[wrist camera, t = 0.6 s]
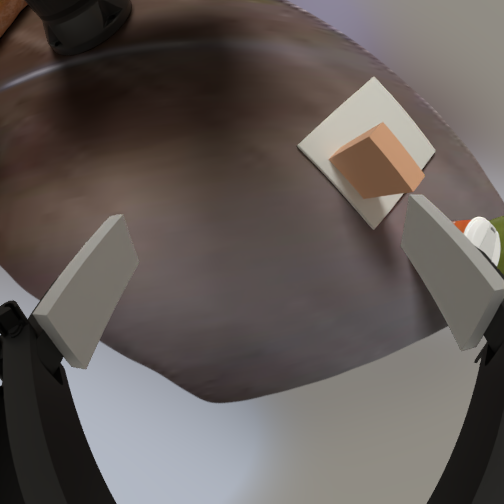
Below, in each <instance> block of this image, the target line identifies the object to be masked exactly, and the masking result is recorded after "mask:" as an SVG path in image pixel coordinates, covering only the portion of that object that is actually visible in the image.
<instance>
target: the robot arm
mask: <svg viewBox="0 0 504 504" xmlns="http://www.w3.org/2000/svg"><path fill="white" fill-rule="evenodd" d="M24 1H25V2H26V3H27V4H28V5H29V6H30V7H31V8H32V9H33V11H34V12H35V13H36V14H37V15H38V16H39V17H40V18H41V20H42V22H43V26H44V30H45V34H46V38H47V41H48V44H49V45H50V46H51V47H52V49H53V50H54V51H55V52H57V53H58V54H61V55H75V54H79V53H82V52H85V51H87V50H89V49H91V48H93V47H95V46H97V45H99V44H100V43H102V42H103V41H105V40H106V39H108V38H109V37H110V36H112V35H113V34H114V33H115V32H116V31H117V30H118V29H119V28H120V27H121V26H122V25H123V23H124V22H125V21H126V19H127V18H128V16H129V14H130V11H131V1H130V0H24ZM400 246H401V248H402V249H403V251H404V252H405V254H406V255H407V257H408V258H409V260H410V261H411V263H412V264H413V266H414V268H415V269H416V271H417V272H418V274H419V275H420V277H421V279H422V280H423V282H424V284H425V285H426V287H427V289H428V290H429V292H430V294H431V295H432V297H433V299H434V301H435V302H436V304H437V306H438V308H439V309H440V311H441V313H442V315H443V317H444V318H445V320H446V322H447V324H448V326H449V328H450V330H451V332H452V334H453V335H454V338H455V340H456V342H457V343H458V346H459V348H460V350H461V351H464V350H467V349H471V348H474V347H476V346H477V345H478V343H479V342H480V340H481V338H482V337H483V335H484V336H485V338H486V340H487V343H486V344H485V346H484V347H483V349H482V350H481V352H480V353H479V355H478V356H477V358H476V359H475V363H477V362H478V360H479V359H480V358H481V363H480V367H479V372H478V376H477V380H476V384H475V388H474V391H473V395H472V399H471V402H470V405H469V408H468V412H467V415H466V418H465V421H464V424H463V427H462V429H461V432H460V435H459V437H458V440H457V442H456V445H455V447H454V450H453V452H452V454H451V457H450V459H449V461H448V463H447V466H446V468H445V470H444V472H443V474H442V476H441V478H440V480H439V482H438V484H437V486H436V488H435V490H434V492H433V493H432V495H431V497H430V499H429V501H428V502H427V504H504V275H503V274H502V272H501V271H500V270H499V269H497V266H496V265H495V264H494V263H493V262H492V260H491V259H490V258H489V257H488V256H487V255H486V254H485V252H483V251H482V250H480V249H479V248H477V247H476V246H474V245H473V243H472V242H471V241H470V240H469V239H468V238H467V237H466V236H465V235H464V234H463V233H462V232H461V231H460V230H459V229H458V228H457V227H456V226H455V225H454V224H453V223H452V222H451V221H450V220H449V219H448V218H447V217H446V216H445V215H444V214H443V213H442V212H441V211H440V210H439V209H438V208H437V207H436V206H435V205H434V204H432V203H431V202H430V201H429V200H428V199H427V198H426V197H425V196H424V195H409V199H408V206H407V212H406V218H405V224H404V230H403V235H402V240H401V245H400ZM138 264H139V260H138V257H137V254H136V252H135V249H134V246H133V243H132V240H131V237H130V234H129V231H128V228H127V225H126V222H125V218H124V215H123V214H121V215H114V216H110V217H109V218H108V219H107V220H106V221H105V222H104V223H103V224H102V225H101V227H100V228H99V229H98V230H97V231H96V232H95V233H94V235H93V236H92V237H91V238H90V239H89V240H88V241H87V243H86V244H85V245H84V246H83V247H82V249H81V250H80V251H79V252H78V253H77V255H76V256H75V257H74V258H73V260H72V261H71V262H70V263H69V265H68V266H67V267H66V268H65V270H64V271H63V272H62V274H61V275H60V276H59V277H58V278H57V279H56V280H55V281H54V282H53V284H52V285H51V286H50V289H49V290H48V291H47V292H46V293H45V296H44V297H42V299H41V300H40V302H39V303H38V305H37V306H36V307H35V309H34V310H33V312H32V313H31V315H30V317H29V318H28V319H27V318H26V316H25V315H24V314H23V312H22V311H21V309H20V307H19V306H18V304H17V302H15V301H8V302H6V303H4V304H3V305H1V306H0V334H1V335H0V379H1V380H2V385H1V386H0V504H116V502H115V500H114V498H113V497H112V494H111V493H110V491H109V489H108V487H107V485H106V483H105V481H104V479H103V477H102V475H101V472H100V470H99V468H98V466H97V464H96V461H95V459H94V457H93V454H92V452H91V450H90V447H89V445H88V442H87V440H86V437H85V434H84V432H83V429H82V426H81V424H80V420H79V418H78V414H77V411H76V408H75V405H74V402H73V398H72V395H71V391H70V388H69V384H68V380H67V377H66V373H65V369H64V367H63V366H62V364H61V361H62V359H63V357H64V358H65V359H66V361H67V362H68V363H69V364H70V365H71V367H76V368H81V369H87V366H88V364H89V362H90V360H91V357H92V355H93V353H94V351H95V348H96V346H97V344H98V342H99V340H100V338H101V335H102V333H103V331H104V329H105V327H106V325H107V323H108V321H109V319H110V317H111V315H112V313H113V311H114V309H115V307H116V305H117V303H118V301H119V299H120V297H121V295H122V293H123V292H124V290H125V288H126V286H127V284H128V282H129V280H130V278H131V277H132V275H133V273H134V271H135V269H136V268H137V266H138Z"/></svg>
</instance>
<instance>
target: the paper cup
mask: <svg viewBox="0 0 504 504" xmlns="http://www.w3.org/2000/svg"><path fill="white" fill-rule="evenodd" d="M451 222H452V223H453V224H454V225H455V226H456V227H457V228H458V229H459V230H460V231H461V232H462V233H463V234H464V235H465V236H466V237H467V238H468V239H469V240H470V241H471V242H472V243H473V245H474V246H476V247H477V248H479V249H480V250H482V251H483V252H485V254H486V255H487V256H488V257H489V258H490V259H491V260H492V262H493V263H494V264H495V265H496V266H497V265H498V262H499V258H500V238H499V234H498V232H497V231H496V229H495V227H494V226H493V225H492V224H491V223H490V221H487V220H486V219H485V218H483V217H475V218H474V219H472V220H460V221H451Z"/></svg>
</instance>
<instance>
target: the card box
mask: <svg viewBox="0 0 504 504" xmlns="http://www.w3.org/2000/svg"><path fill="white" fill-rule="evenodd" d="M329 160H330V161H331V163H332V164H333V165H334V166H335V167H336V168H337V169H338V170H339V171H340V172H341V173H342V175H343V176H344V177H345V178H346V179H347V180H348V181H349V182H350V184H351V185H352V186H353V187H354V188H355V189H356V190H357V192H358V193H359V194H360V195H361V196H362V197H363V199H367V198H374V197H380V196H387V195H394V194H402V193H409V192H414V190H415V189H416V188H417V186H418V185H419V184H420V182H421V181H422V179H423V178H424V177H425V175H424V173H423V172H422V170H421V169H420V168H419V166H418V165H417V164H416V162H415V161H414V160H413V158H412V157H411V156H410V154H409V153H408V152H407V150H406V149H405V148H404V147H403V145H402V144H401V143H400V141H399V140H398V139H397V138H396V137H395V135H394V134H393V133H392V132H391V131H390V129H389V128H388V127H387V126H386V125H385V124H384V122H382V123H380V124H378V125H377V126H375V127H373V128H372V129H370V130H368V131H366V132H365V133H363V134H361V135H360V136H358V137H356V138H355V139H353V140H351V141H350V142H348V143H346V144H345V145H343V146H342V147H340V148H339V149H338V150H337V151H336V152H335V153H334V154H333V155H332V156H331V157H330V158H329Z"/></svg>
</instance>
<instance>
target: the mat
mask: <svg viewBox="0 0 504 504" xmlns="http://www.w3.org/2000/svg"><path fill="white" fill-rule="evenodd" d="M382 122H384V124H385V125H386V126H387V127H388V128H389V129H390V131H391V132H392V133H393V134H394V135H395V137H396V138H397V139H398V140H399V141H400V143H401V144H402V145H403V147H404V148H405V149H406V150H407V152H408V153H409V154H410V156H411V157H412V158H413V160H414V161H415V162H416V164H417V165H418V166H419V168H420V169H421V170H422V169H423V168H424V166H425V165H426V163H427V162H428V161H429V159H430V158H431V157H432V155H433V154H434V152H435V149H434V148H433V146H432V145H431V144H430V142H429V141H428V139H427V138H426V137H425V135H424V134H423V133H422V131H421V130H420V129H419V128H418V126H417V125H416V124H415V122H414V121H413V120H412V119H411V118H410V116H409V115H408V114H407V113H406V111H405V110H404V109H403V108H402V107H401V106H400V104H399V103H398V102H397V101H396V100H395V99H394V98H393V96H392V95H391V94H390V93H389V92H388V91H387V90H386V89H385V88H384V87H383V86H382V84H381V83H380V82H379V81H378V80H377V79H376V78H375V77H373V78H372V79H370V80H369V81H368V82H367V83H366V84H365V85H363V86H362V87H361V88H360V89H359V90H358V91H357V92H355V93H354V94H353V95H352V96H351V97H350V98H349V99H348V100H346V101H345V102H344V103H343V104H342V105H341V106H340V107H339V108H337V109H336V110H335V111H334V112H333V113H332V114H331V115H330V116H329V117H328V118H326V119H325V120H324V121H323V122H322V123H321V124H320V125H319V126H318V127H317V128H316V129H314V130H313V131H312V132H311V133H310V134H309V135H308V136H307V137H306V138H305V139H304V140H303V141H302V142H300V143H299V144H298V145H297V147H298V148H299V149H300V150H301V151H302V152H303V153H304V154H305V155H306V156H307V157H308V158H309V159H310V160H311V161H312V162H313V163H314V164H315V165H316V166H317V167H318V169H319V170H320V171H321V172H322V173H323V174H324V175H325V176H326V177H327V178H328V179H329V180H330V181H331V182H332V183H333V185H334V186H335V187H336V188H337V189H338V190H339V191H340V192H341V193H342V195H343V196H344V197H345V198H346V199H347V200H348V201H349V202H350V204H351V205H352V206H353V207H354V208H355V209H356V211H357V212H358V213H359V214H360V215H361V216H362V218H363V219H364V220H365V221H366V222H367V224H368V225H369V226H370V227H371V229H373V230H374V229H375V228H376V227H377V226H378V225H379V223H380V222H381V221H382V220H383V219H384V217H385V216H386V215H387V214H388V213H389V211H390V210H391V209H392V208H393V206H394V205H395V204H396V203H397V201H398V200H399V199H400V198H401V196H402V195H403V194H404V193H402V194H394V195H387V196H380V197H374V198H367V199H363V197H362V196H361V195H360V194H359V193H358V192H357V190H356V189H355V188H354V187H353V186H352V185H351V184H350V182H349V181H348V180H347V179H346V178H345V177H344V176H343V175H342V173H341V172H340V171H339V170H338V169H337V168H336V167H335V166H334V165H333V164H332V163H331V161H330V160H329V158H330V157H331V156H332V155H333V154H334V153H335V152H336V151H337V150H338V149H339V148H340V147H342V146H343V145H345V144H346V143H348V142H350V141H351V140H353V139H355V138H356V137H358V136H360V135H361V134H363V133H365V132H366V131H368V130H370V129H372V128H373V127H375V126H377V125H378V124H380V123H382Z"/></svg>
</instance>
